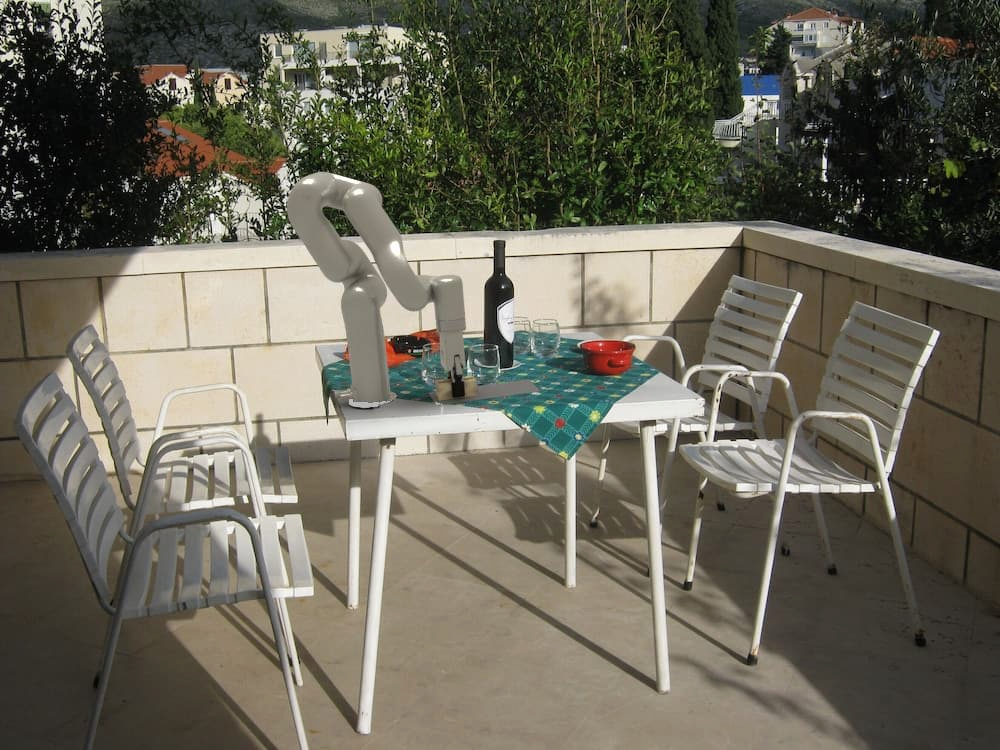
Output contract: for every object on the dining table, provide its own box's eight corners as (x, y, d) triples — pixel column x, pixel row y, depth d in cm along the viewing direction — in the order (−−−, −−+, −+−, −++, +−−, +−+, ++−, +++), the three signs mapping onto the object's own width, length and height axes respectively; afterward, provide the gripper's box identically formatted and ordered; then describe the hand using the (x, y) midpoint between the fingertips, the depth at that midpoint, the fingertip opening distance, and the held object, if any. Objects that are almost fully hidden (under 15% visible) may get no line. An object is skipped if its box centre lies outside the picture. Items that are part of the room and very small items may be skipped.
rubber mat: (436, 407, 268) (436, 405, 268) (428, 394, 279) (428, 392, 279) (540, 393, 273) (540, 391, 273) (528, 381, 285) (528, 379, 285)
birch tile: (439, 400, 272) (437, 384, 270) (436, 395, 276) (434, 379, 275) (477, 395, 274) (476, 379, 272) (473, 390, 278) (472, 375, 277)
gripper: (430, 319, 277) (436, 387, 282) (442, 333, 261) (448, 404, 266) (459, 316, 279) (464, 383, 284) (472, 330, 263) (477, 401, 268)
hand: (456, 393), depth 275 cm, fingers closed on birch tile, 5 cm apart
